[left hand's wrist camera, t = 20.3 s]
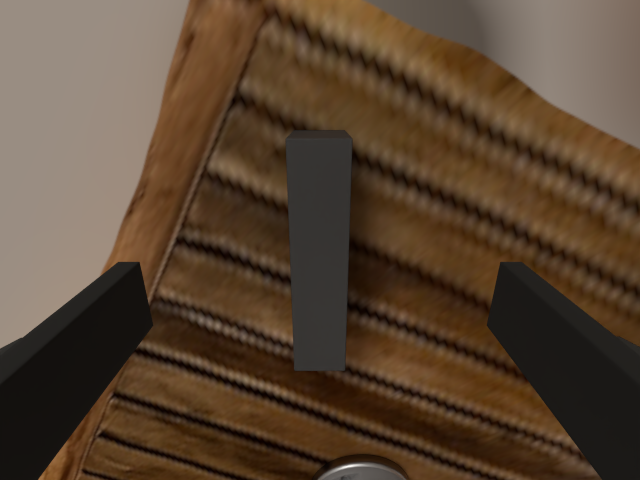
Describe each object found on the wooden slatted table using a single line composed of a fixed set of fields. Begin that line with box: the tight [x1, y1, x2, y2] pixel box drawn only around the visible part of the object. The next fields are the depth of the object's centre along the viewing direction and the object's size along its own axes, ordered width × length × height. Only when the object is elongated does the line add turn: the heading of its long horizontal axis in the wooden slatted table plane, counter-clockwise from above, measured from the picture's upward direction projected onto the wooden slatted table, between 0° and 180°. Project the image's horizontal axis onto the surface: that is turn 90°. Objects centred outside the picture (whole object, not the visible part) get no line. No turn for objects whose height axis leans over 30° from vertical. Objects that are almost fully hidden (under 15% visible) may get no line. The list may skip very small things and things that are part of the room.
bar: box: [286, 130, 352, 371], centre depth 34 cm, size 22×5×8 cm, turn 0°
